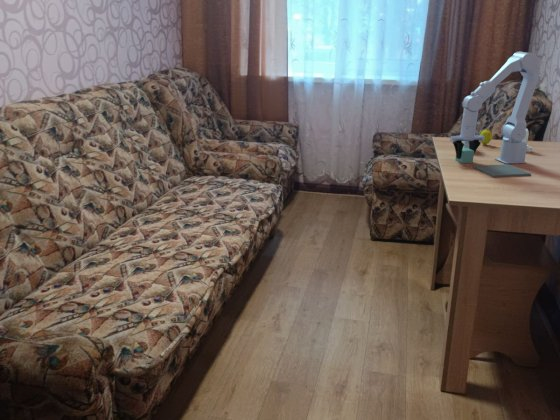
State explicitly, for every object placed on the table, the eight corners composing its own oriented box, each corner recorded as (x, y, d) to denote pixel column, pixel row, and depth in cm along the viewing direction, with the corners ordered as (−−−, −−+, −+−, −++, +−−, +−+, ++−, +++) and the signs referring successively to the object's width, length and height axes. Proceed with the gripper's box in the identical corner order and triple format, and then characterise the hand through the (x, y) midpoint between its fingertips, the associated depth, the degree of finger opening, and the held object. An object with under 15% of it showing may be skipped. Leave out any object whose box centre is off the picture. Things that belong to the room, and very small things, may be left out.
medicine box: (473, 152, 240) (476, 133, 237) (463, 151, 241) (465, 132, 238) (471, 148, 247) (473, 129, 244) (461, 147, 248) (463, 129, 245)
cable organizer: (532, 151, 243) (536, 130, 240) (510, 151, 243) (514, 129, 240) (527, 149, 248) (530, 127, 245) (505, 148, 248) (509, 127, 245)
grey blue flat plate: (508, 166, 218) (508, 164, 217) (530, 175, 205) (531, 173, 204) (472, 167, 214) (473, 165, 214) (493, 177, 201) (493, 175, 201)
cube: (466, 159, 226) (467, 148, 225) (472, 162, 222) (474, 150, 220) (455, 160, 225) (456, 148, 224) (461, 163, 221) (463, 151, 219)
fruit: (477, 145, 253) (480, 128, 250) (478, 143, 258) (481, 126, 255) (490, 146, 251) (492, 129, 248) (491, 144, 256) (493, 127, 253)
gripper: (479, 123, 224) (474, 155, 228) (447, 124, 221) (443, 156, 225) (489, 126, 217) (484, 159, 222) (456, 127, 214) (452, 160, 219)
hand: (464, 158), depth 223 cm, fingers closed on cube, 5 cm apart
